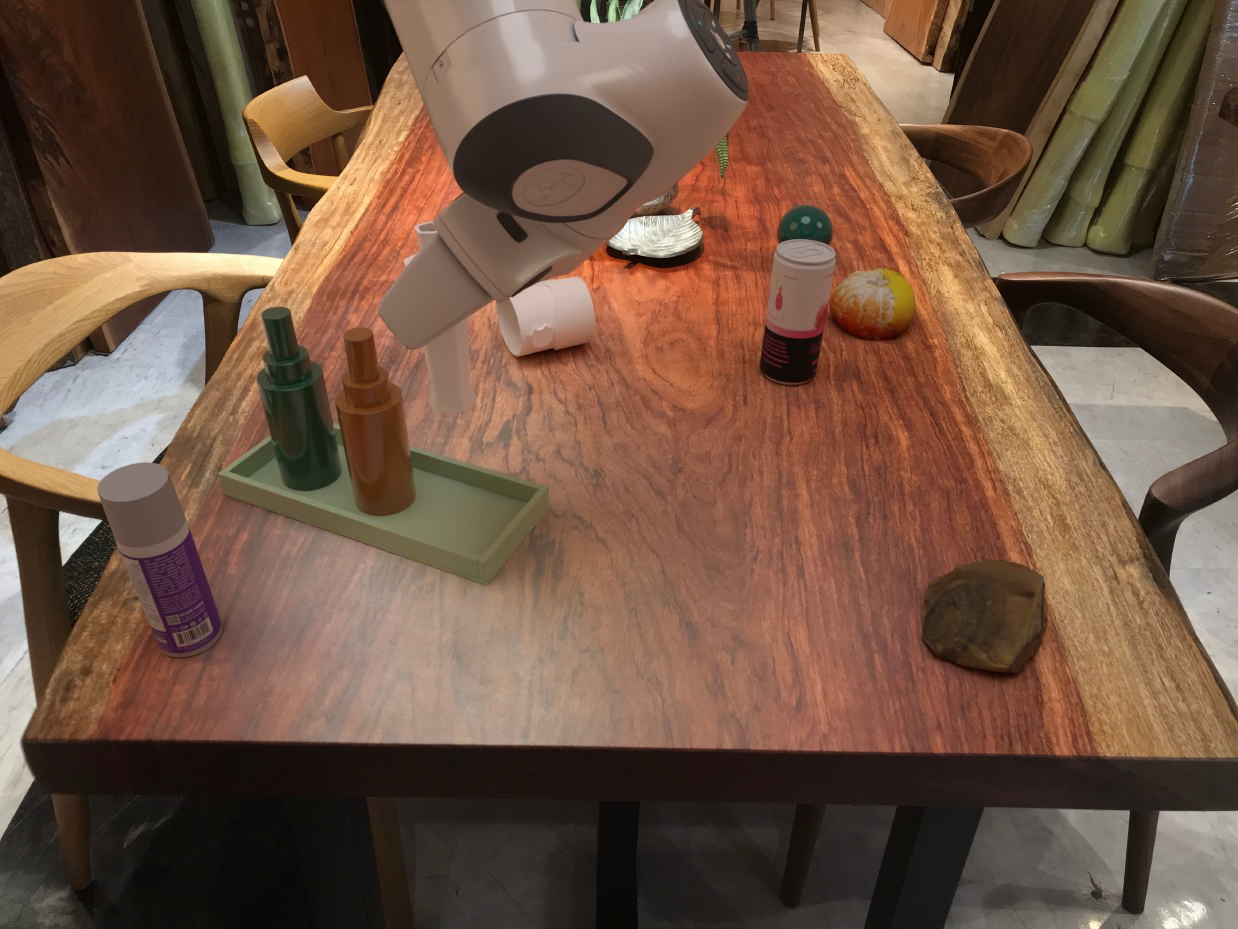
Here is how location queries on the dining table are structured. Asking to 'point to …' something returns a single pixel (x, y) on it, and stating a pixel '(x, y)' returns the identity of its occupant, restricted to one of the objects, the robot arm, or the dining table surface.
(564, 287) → the white hollow cylinder
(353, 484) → the bottle
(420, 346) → the robot arm
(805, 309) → the beverage can
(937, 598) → the decorative stone
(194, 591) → the container
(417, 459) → the tray
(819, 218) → the sphere
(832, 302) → the fruit
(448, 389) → the perfume bottle
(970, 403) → the dining table surface
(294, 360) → the bottle
